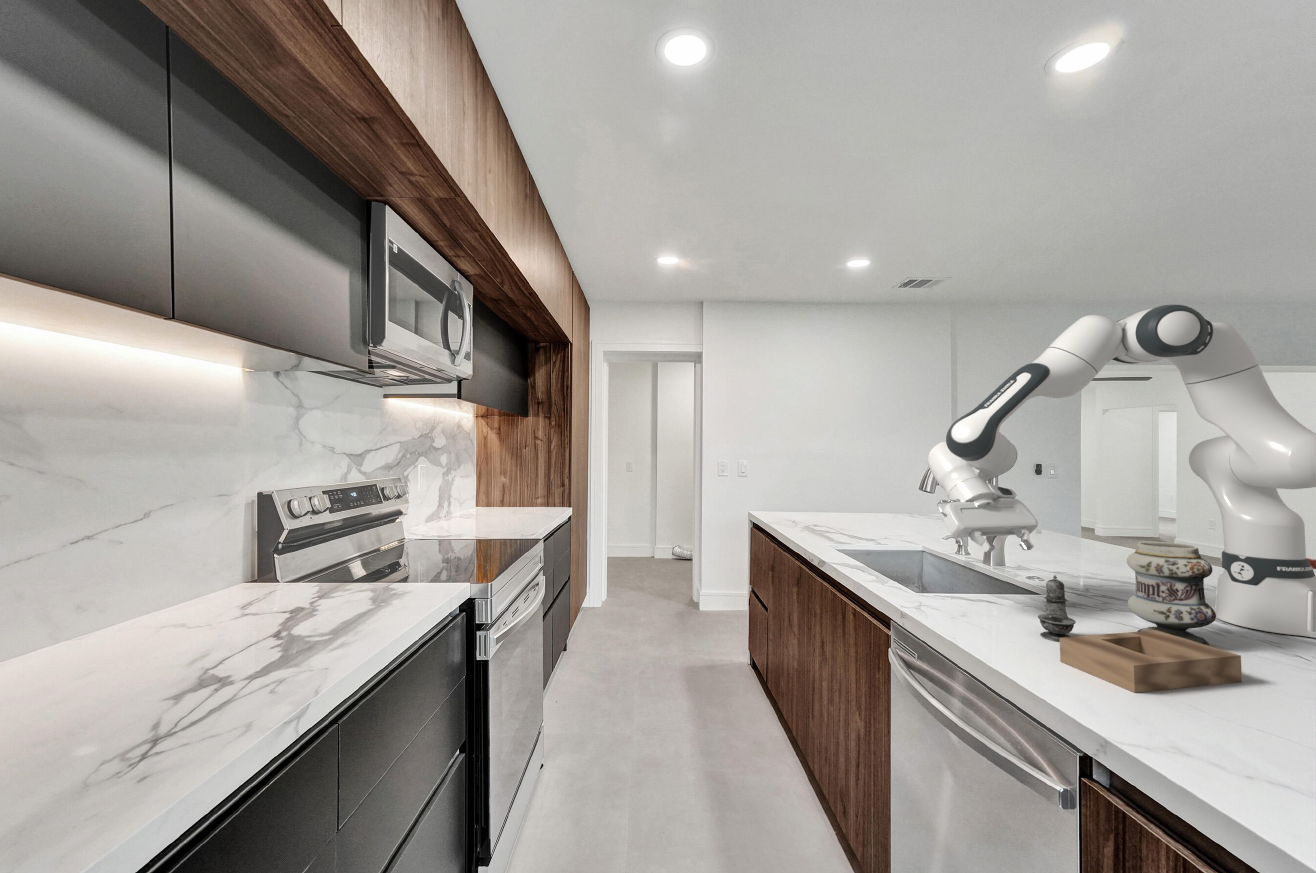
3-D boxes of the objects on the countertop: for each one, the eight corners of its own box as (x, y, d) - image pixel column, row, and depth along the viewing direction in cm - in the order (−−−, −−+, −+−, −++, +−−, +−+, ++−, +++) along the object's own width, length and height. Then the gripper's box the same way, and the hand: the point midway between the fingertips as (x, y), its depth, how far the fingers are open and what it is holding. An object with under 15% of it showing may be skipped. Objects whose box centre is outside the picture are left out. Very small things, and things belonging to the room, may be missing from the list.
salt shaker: (1063, 632, 104) (1061, 571, 105) (1084, 643, 99) (1081, 578, 99) (1031, 632, 105) (1029, 571, 105) (1050, 642, 99) (1048, 578, 100)
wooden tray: (1156, 652, 94) (1155, 630, 94) (1242, 681, 82) (1240, 655, 82) (1060, 661, 90) (1059, 637, 90) (1134, 692, 78) (1133, 665, 79)
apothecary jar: (1178, 629, 106) (1174, 539, 106) (1237, 652, 94) (1233, 550, 94) (1112, 628, 107) (1109, 538, 107) (1163, 650, 95) (1159, 549, 95)
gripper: (940, 491, 119) (974, 542, 109) (1019, 489, 122) (1059, 538, 112) (927, 509, 123) (959, 560, 113) (1004, 507, 126) (1041, 556, 116)
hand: (1010, 549), depth 113 cm, fingers open, 8 cm apart
